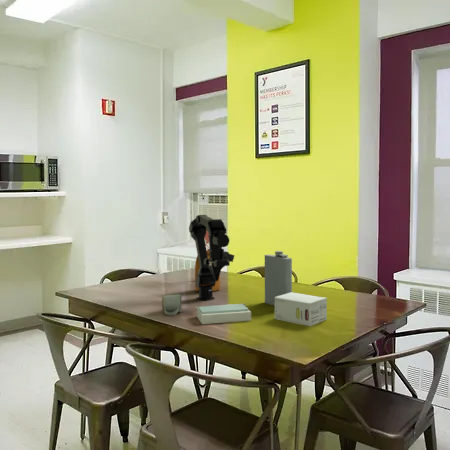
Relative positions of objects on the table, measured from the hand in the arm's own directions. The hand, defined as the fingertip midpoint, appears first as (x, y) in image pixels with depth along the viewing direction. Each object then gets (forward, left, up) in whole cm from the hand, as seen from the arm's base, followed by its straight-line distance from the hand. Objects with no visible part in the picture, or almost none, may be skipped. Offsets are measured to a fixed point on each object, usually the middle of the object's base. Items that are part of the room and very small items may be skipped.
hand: (216, 281), depth 212 cm
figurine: (-47, +41, -12) cm, 63 cm away
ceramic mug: (-6, -21, -12) cm, 25 cm away
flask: (+20, +20, -12) cm, 30 cm away
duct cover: (+17, -13, -8) cm, 23 cm away
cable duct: (+18, -14, -12) cm, 25 cm away
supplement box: (+41, +7, -12) cm, 44 cm away
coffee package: (-28, +21, -12) cm, 37 cm away
